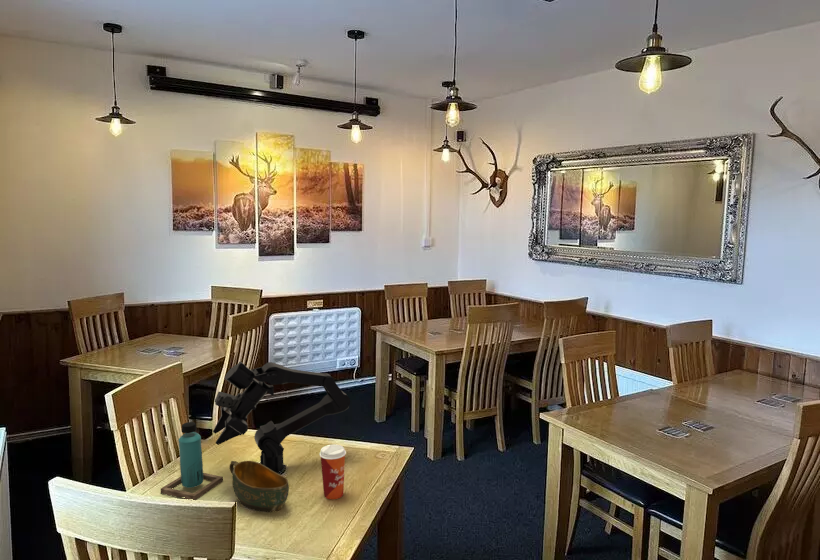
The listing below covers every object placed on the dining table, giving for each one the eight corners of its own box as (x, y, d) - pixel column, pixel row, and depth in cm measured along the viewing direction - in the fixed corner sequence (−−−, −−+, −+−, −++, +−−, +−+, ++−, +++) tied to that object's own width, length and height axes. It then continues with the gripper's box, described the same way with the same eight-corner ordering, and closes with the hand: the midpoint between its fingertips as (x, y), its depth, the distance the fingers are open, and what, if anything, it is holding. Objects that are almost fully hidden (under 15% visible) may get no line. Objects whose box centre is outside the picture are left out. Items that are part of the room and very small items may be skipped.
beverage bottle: (199, 492, 163) (195, 427, 160) (177, 492, 163) (173, 427, 160) (207, 482, 169) (204, 419, 167) (186, 481, 169) (182, 419, 167)
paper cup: (335, 504, 156) (334, 457, 154) (314, 496, 160) (313, 450, 158) (352, 492, 163) (351, 447, 161) (332, 485, 167) (331, 441, 165)
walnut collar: (223, 481, 170) (223, 476, 170) (194, 501, 158) (194, 496, 158) (191, 474, 174) (190, 470, 174) (160, 493, 163) (160, 488, 162)
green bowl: (270, 481, 170) (269, 450, 168) (293, 511, 153) (292, 477, 151) (227, 492, 163) (226, 460, 161) (246, 526, 146) (244, 490, 145)
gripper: (226, 374, 177) (192, 413, 174) (233, 391, 160) (195, 435, 157) (253, 394, 181) (220, 432, 178) (263, 413, 164) (226, 455, 161)
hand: (215, 438), depth 169 cm, fingers open, 9 cm apart
